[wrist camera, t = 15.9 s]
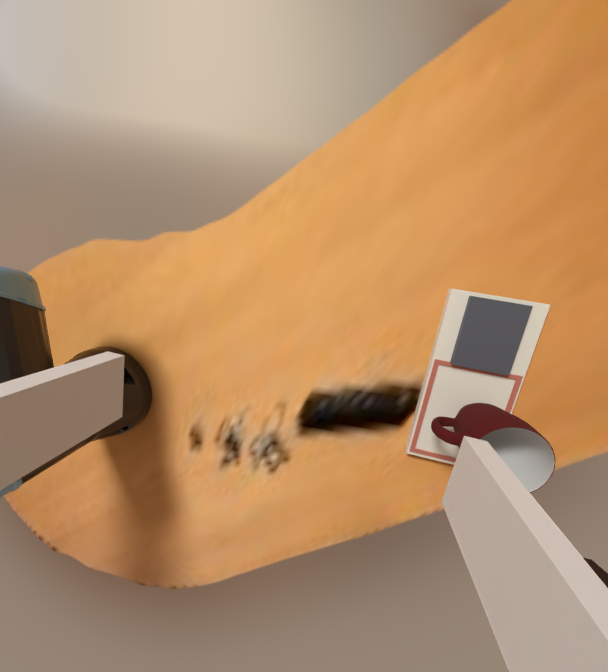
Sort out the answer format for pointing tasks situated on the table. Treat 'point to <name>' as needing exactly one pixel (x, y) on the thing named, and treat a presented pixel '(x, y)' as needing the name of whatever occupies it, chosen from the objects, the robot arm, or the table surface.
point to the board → (474, 363)
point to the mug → (502, 440)
